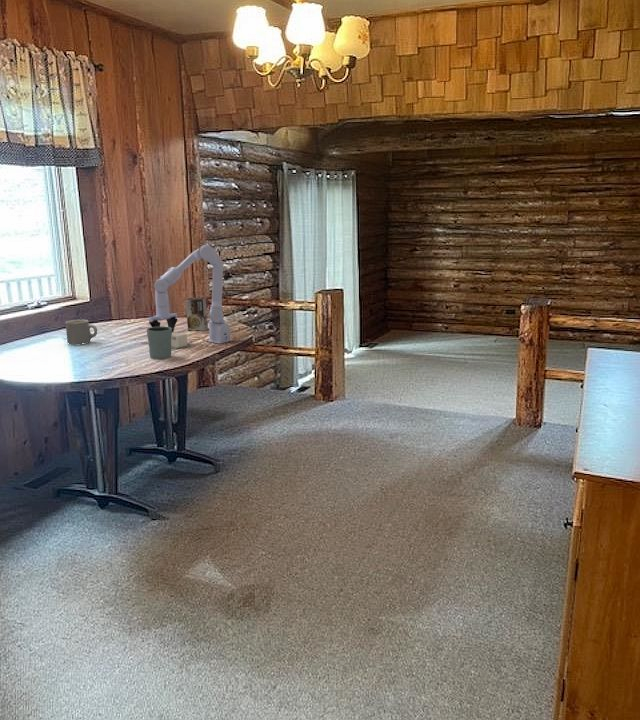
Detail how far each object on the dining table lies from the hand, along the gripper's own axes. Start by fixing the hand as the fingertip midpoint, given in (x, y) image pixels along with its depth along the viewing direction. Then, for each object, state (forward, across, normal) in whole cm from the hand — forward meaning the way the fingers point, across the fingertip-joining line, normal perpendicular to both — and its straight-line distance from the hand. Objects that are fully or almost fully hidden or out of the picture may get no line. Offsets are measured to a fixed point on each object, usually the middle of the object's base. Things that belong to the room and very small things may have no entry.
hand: (164, 335), depth 289 cm
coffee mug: (+4, +21, -33) cm, 40 cm away
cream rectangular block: (+4, 0, +8) cm, 8 cm away
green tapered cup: (+4, +18, +21) cm, 28 cm away
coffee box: (+4, -32, -14) cm, 35 cm away
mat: (+4, 0, +2) cm, 4 cm away
